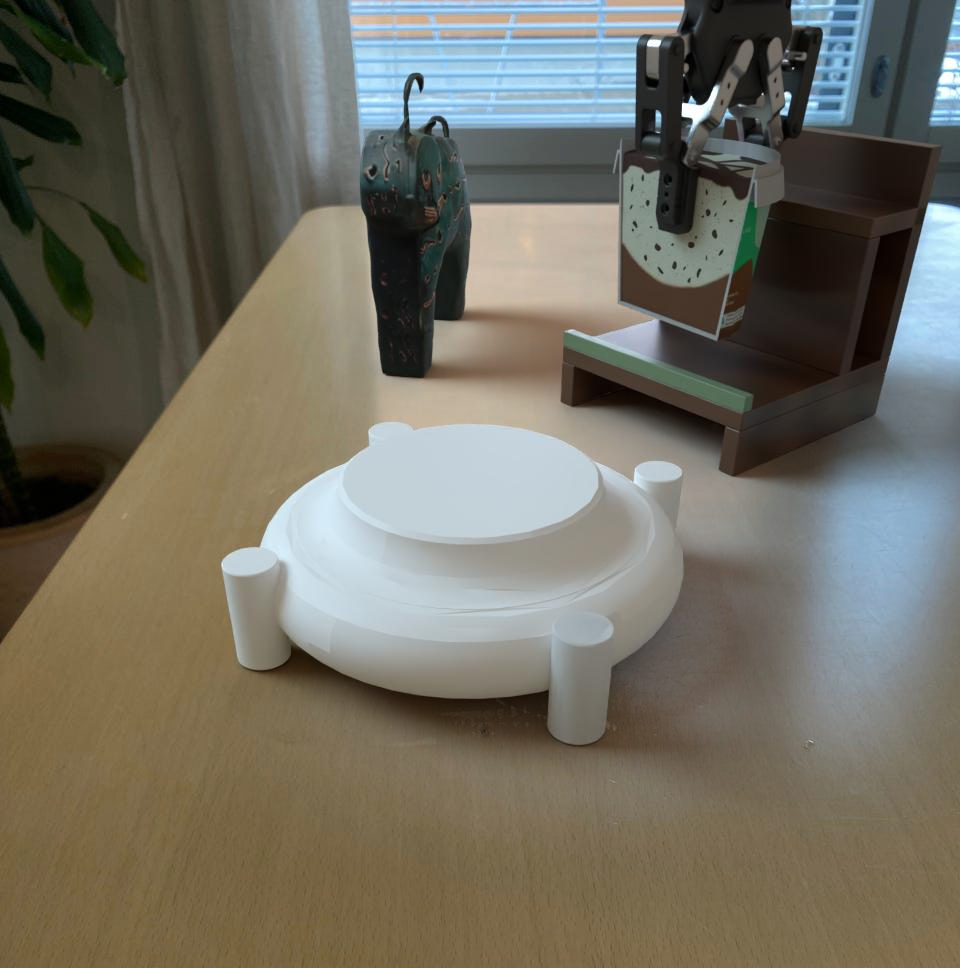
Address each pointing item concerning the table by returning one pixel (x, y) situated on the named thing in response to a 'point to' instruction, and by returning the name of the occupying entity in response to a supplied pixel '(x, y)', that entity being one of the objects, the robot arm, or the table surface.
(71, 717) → the table surface
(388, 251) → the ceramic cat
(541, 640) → the round stand with pegs
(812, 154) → the step rack
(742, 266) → the food container
